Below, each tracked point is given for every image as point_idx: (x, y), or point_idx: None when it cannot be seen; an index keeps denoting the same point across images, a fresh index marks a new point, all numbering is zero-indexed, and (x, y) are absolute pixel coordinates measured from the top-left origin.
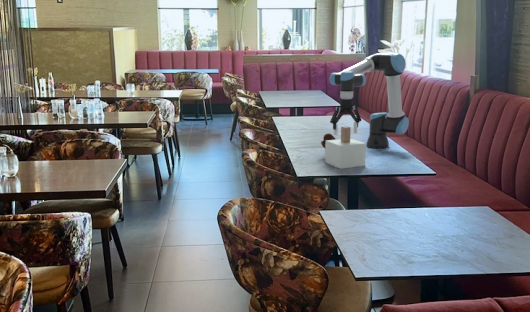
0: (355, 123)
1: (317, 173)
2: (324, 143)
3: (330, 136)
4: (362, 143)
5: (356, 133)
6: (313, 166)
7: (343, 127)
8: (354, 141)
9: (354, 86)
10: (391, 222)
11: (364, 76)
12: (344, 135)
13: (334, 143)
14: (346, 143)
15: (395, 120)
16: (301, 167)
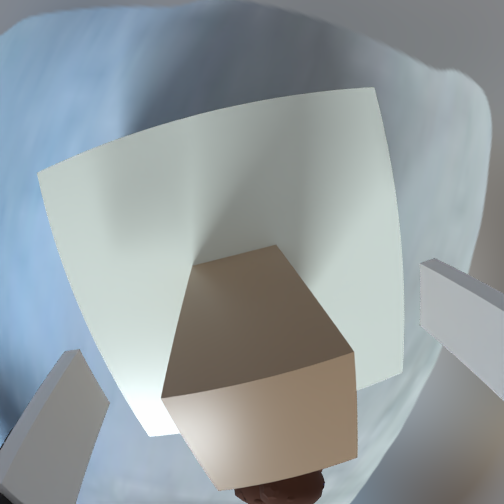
0: (29, 488)
1: (435, 78)
2: None
3: (290, 485)
4: (70, 167)
5: (71, 350)
6: (421, 217)
7: (355, 398)
8: (128, 298)
9: None
10: None
11: None
12: (300, 278)
13: (393, 232)
14: (263, 200)
15: None
16: (467, 212)
